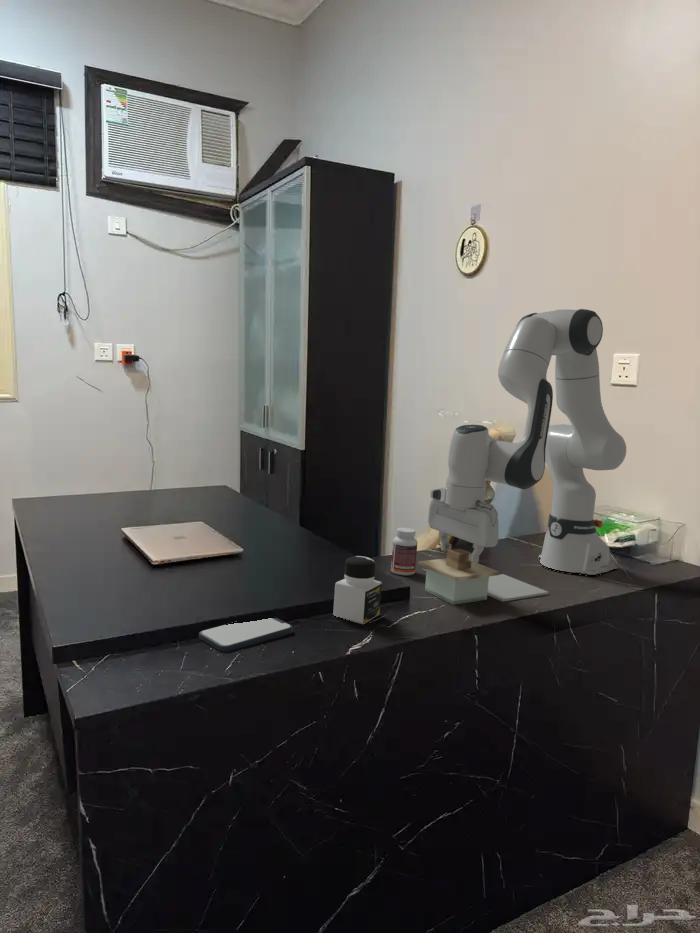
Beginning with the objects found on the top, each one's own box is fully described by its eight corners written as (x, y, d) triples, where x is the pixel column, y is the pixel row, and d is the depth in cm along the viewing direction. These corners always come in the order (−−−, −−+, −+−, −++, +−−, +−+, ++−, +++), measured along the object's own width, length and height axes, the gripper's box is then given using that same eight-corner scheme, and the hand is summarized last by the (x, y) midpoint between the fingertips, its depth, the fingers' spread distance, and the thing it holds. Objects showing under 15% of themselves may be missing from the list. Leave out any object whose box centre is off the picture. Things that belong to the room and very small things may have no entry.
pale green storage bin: (457, 586, 162) (459, 562, 161) (486, 599, 154) (489, 573, 153) (424, 590, 157) (427, 565, 156) (453, 604, 149) (455, 578, 148)
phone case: (223, 656, 115) (295, 634, 126) (223, 647, 115) (296, 626, 126) (195, 640, 121) (266, 620, 132) (195, 631, 121) (267, 612, 132)
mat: (502, 576, 174) (503, 574, 174) (548, 594, 161) (548, 591, 161) (458, 582, 166) (458, 579, 166) (502, 601, 153) (502, 599, 153)
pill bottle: (420, 574, 170) (423, 531, 168) (400, 577, 166) (404, 533, 165) (404, 567, 175) (408, 526, 174) (385, 570, 172) (389, 527, 170)
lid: (460, 559, 163) (462, 542, 163) (498, 575, 153) (500, 556, 152) (417, 564, 156) (419, 546, 156) (455, 581, 146) (457, 561, 145)
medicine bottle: (363, 625, 133) (368, 565, 131) (332, 616, 136) (336, 558, 134) (379, 615, 139) (384, 558, 137) (349, 607, 142) (353, 551, 141)
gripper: (508, 505, 145) (502, 568, 147) (446, 488, 162) (441, 544, 164) (486, 506, 142) (480, 570, 144) (425, 489, 159) (421, 546, 161)
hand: (459, 556), depth 154 cm, fingers open, 8 cm apart
